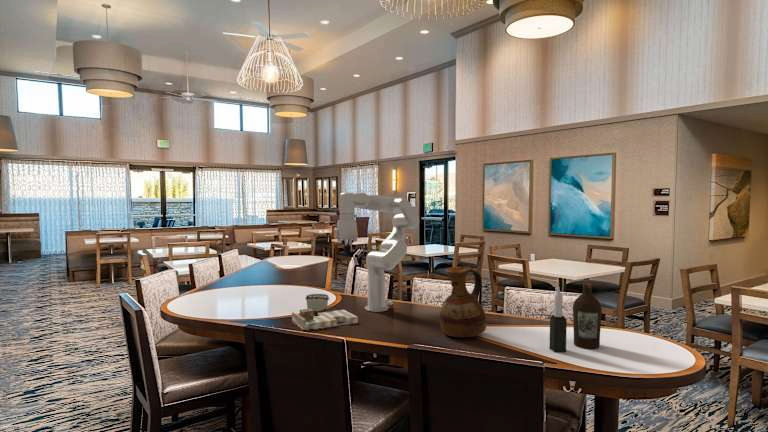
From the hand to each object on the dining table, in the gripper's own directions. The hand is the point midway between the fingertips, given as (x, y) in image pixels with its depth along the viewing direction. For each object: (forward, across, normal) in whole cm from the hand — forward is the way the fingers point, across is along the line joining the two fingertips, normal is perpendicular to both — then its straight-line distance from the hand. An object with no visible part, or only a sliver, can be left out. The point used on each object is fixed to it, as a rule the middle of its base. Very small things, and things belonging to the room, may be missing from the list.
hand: (347, 253), depth 217 cm
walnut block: (+29, +24, +6) cm, 38 cm away
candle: (+32, -50, +87) cm, 105 cm away
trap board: (+32, +14, +6) cm, 36 cm away
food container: (+32, +11, -11) cm, 36 cm away
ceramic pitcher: (+32, -31, +53) cm, 69 cm away
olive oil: (+32, -65, +89) cm, 115 cm away
